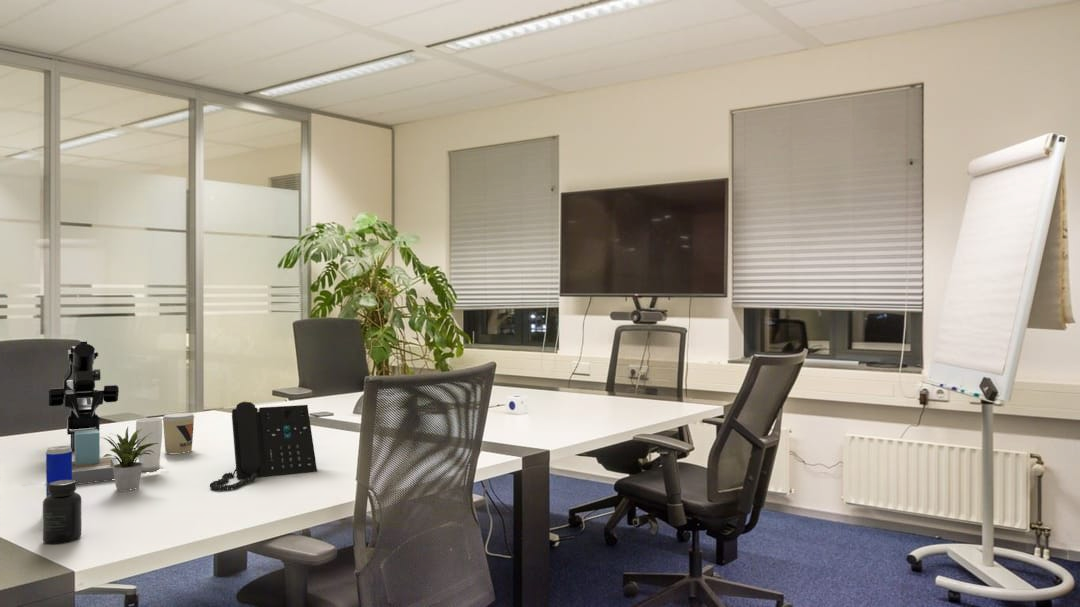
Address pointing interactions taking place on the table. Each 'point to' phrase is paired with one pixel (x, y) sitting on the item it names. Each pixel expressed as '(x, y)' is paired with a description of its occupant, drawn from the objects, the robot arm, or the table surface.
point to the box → (94, 474)
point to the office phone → (269, 443)
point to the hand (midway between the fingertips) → (85, 416)
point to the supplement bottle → (62, 513)
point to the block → (87, 447)
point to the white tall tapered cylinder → (146, 428)
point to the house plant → (128, 461)
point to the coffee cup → (178, 432)
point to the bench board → (102, 462)
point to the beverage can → (58, 465)
